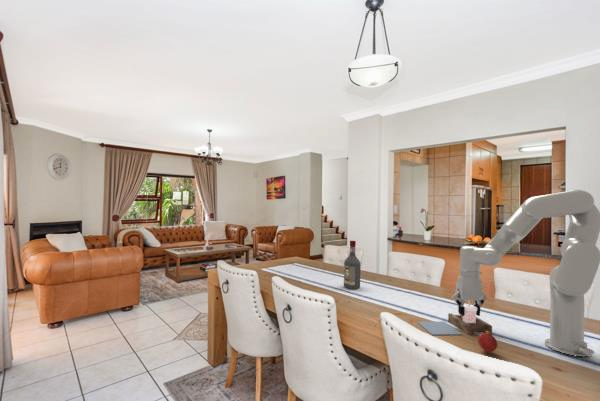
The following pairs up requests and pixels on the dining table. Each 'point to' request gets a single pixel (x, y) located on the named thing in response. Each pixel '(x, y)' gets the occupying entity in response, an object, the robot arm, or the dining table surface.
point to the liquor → (352, 269)
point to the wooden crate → (469, 324)
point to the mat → (439, 328)
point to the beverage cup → (470, 313)
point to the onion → (487, 342)
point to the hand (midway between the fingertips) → (469, 314)
